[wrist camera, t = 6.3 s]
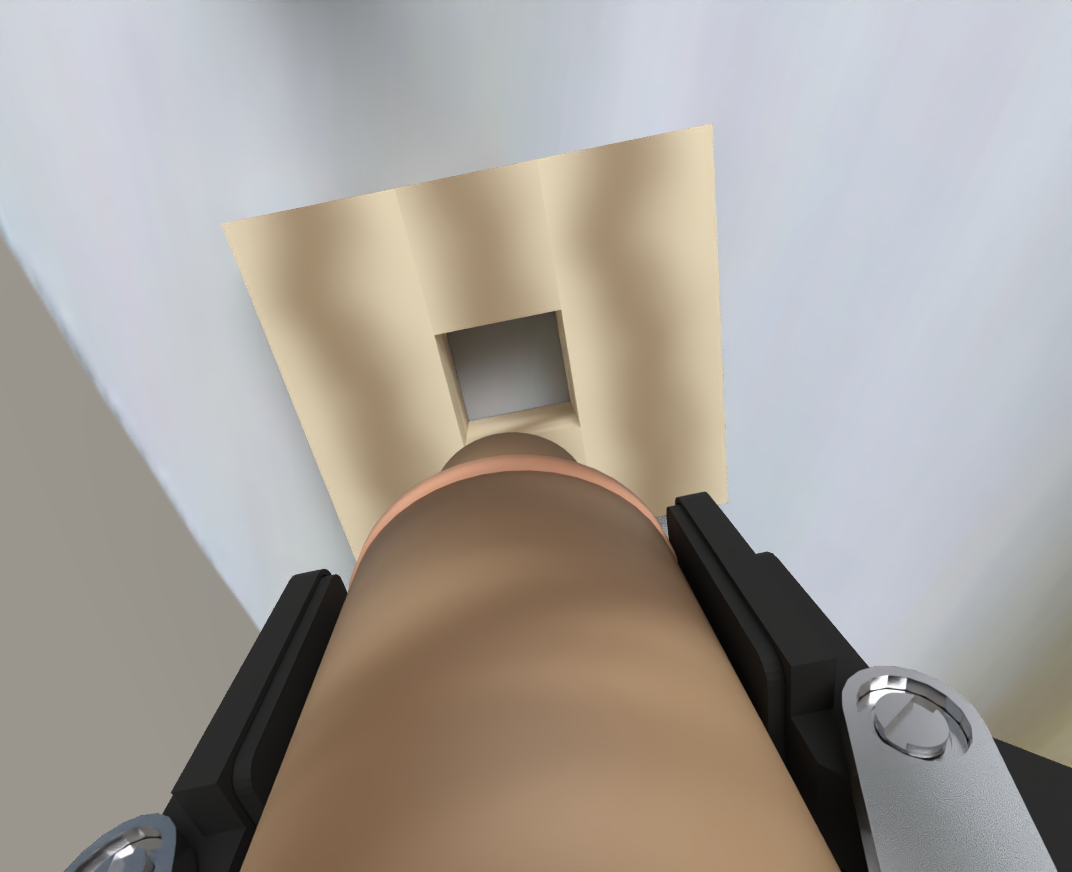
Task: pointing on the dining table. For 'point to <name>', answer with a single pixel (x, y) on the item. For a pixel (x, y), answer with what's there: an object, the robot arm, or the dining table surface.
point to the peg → (528, 696)
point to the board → (504, 317)
